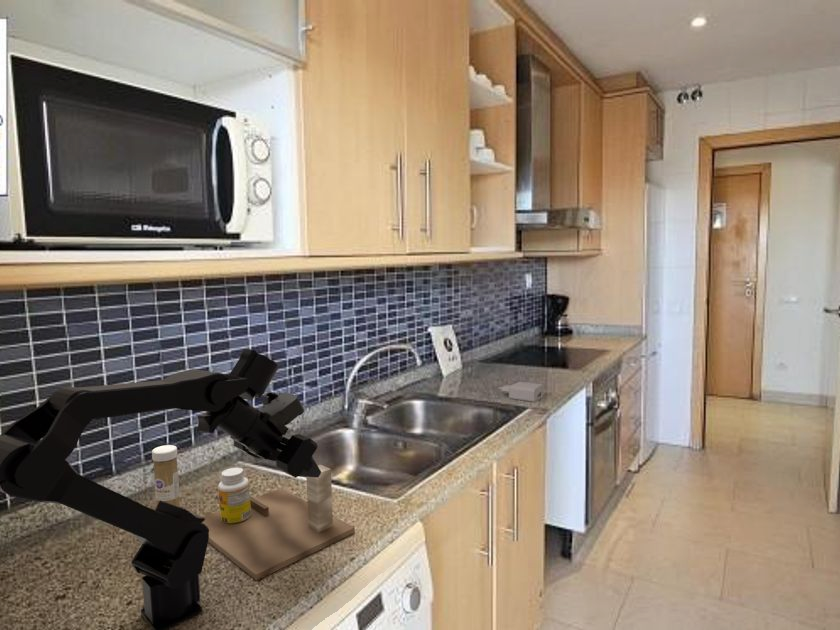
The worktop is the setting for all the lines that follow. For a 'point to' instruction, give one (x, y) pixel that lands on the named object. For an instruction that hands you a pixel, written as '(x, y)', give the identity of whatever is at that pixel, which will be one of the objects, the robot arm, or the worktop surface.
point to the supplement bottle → (234, 496)
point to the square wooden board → (280, 528)
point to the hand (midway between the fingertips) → (304, 467)
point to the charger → (524, 391)
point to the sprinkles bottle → (166, 474)
